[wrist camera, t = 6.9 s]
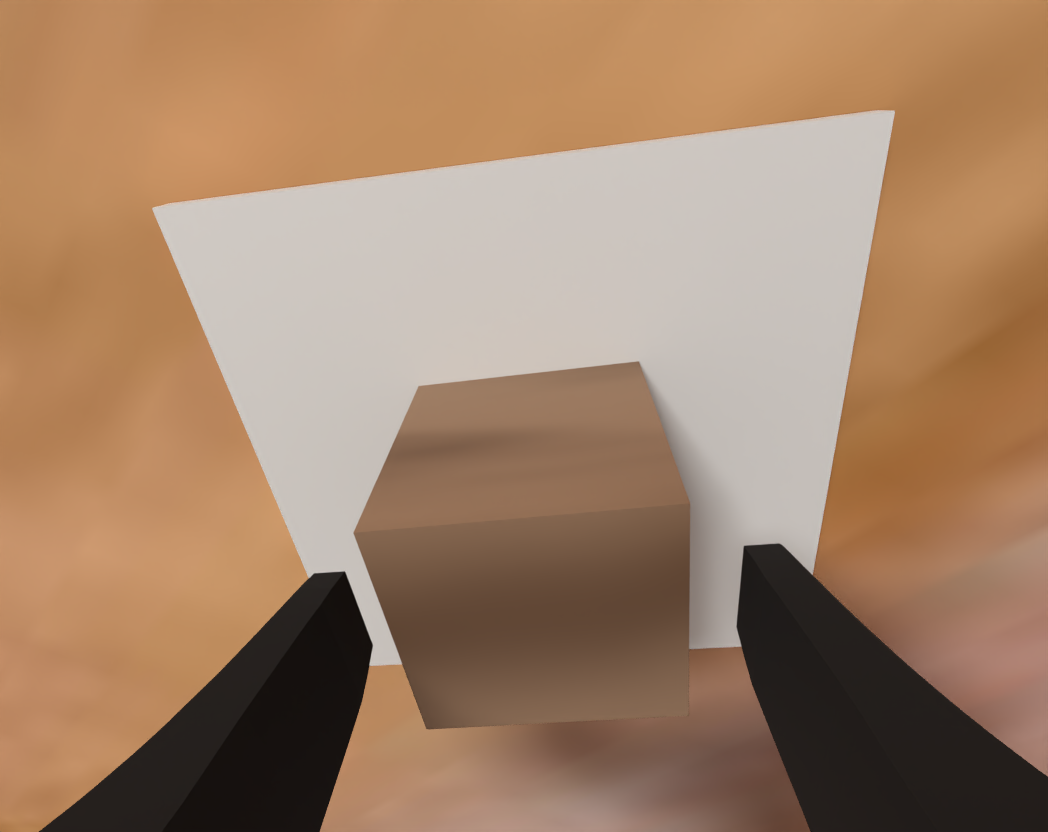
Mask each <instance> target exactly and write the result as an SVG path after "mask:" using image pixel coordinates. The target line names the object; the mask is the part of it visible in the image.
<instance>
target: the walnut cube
mask: <svg viewBox="0 0 1048 832" xmlns="http://www.w3.org/2000/svg"><path fill="white" fill-rule="evenodd" d="M353 534H354V536H355V539H356V542H357V544H358V547H359V550H360V552H361V555H362V558H363V560H364V563H365V566H366V568H367V571H368V574H369V576H370V579H371V582H372V584H373V587H374V590H375V592H376V595H377V598H378V600H379V603H380V606H381V608H382V611H383V614H384V616H385V619H386V622H387V624H388V627H389V630H390V633H391V635H392V638H393V641H394V643H395V646H396V649H397V651H398V654H399V657H400V659H401V662H402V665H403V667H404V670H405V673H406V675H407V678H408V681H409V683H410V686H411V689H412V691H413V694H414V697H415V699H416V702H417V705H418V707H419V710H420V713H421V715H422V718H423V721H424V724H425V726H426V729H443V728H463V727H482V726H502V725H521V724H540V723H560V722H579V721H598V720H618V719H637V718H656V717H676V716H689V602H690V501H689V498H688V496H687V493H686V490H685V487H684V485H683V482H682V479H681V476H680V474H679V471H678V468H677V465H676V463H675V460H674V457H673V454H672V452H671V449H670V446H669V443H668V441H667V438H666V435H665V432H664V429H663V427H662V424H661V421H660V418H659V416H658V413H657V410H656V407H655V405H654V402H653V399H652V396H651V394H650V391H649V388H648V385H647V383H646V380H645V377H644V374H643V372H642V369H641V366H640V363H639V361H637V362H628V363H619V364H610V365H601V366H592V367H583V368H575V369H566V370H557V371H548V372H539V373H530V374H521V375H512V376H503V377H495V378H486V379H477V380H468V381H459V382H450V383H441V384H432V385H423V386H418V388H417V391H416V393H415V395H414V397H413V400H412V402H411V404H410V406H409V409H408V411H407V413H406V415H405V418H404V420H403V422H402V424H401V427H400V429H399V431H398V433H397V436H396V438H395V440H394V442H393V445H392V447H391V449H390V451H389V454H388V456H387V458H386V460H385V463H384V465H383V467H382V469H381V472H380V474H379V476H378V478H377V481H376V483H375V485H374V487H373V490H372V492H371V494H370V496H369V499H368V501H367V503H366V505H365V508H364V510H363V512H362V514H361V517H360V519H359V521H358V523H357V526H356V528H355V530H354V532H353Z"/></svg>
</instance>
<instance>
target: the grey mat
mask: <svg viewBox="0 0 1048 832" xmlns="http://www.w3.org/2000/svg"><path fill="white" fill-rule="evenodd" d="M894 114H895V111H887V110H876V111H868V112H860V113H853V114H845V115H838V116H830V117H822V118H815V119H807V120H800V121H792V122H784V123H777V124H769V125H761V126H754V127H746V128H739V129H731V130H723V131H716V132H708V133H701V134H693V135H685V136H678V137H670V138H663V139H655V140H647V141H640V142H632V143H625V144H617V145H609V146H602V147H594V148H587V149H579V150H571V151H564V152H556V153H549V154H541V155H533V156H526V157H518V158H511V159H503V160H495V161H488V162H480V163H473V164H465V165H457V166H450V167H442V168H435V169H427V170H419V171H412V172H404V173H397V174H389V175H381V176H374V177H366V178H358V179H351V180H343V181H336V182H328V183H320V184H313V185H305V186H298V187H290V188H282V189H275V190H267V191H260V192H252V193H244V194H237V195H229V196H222V197H214V198H206V199H199V200H191V201H184V202H176V203H169V204H165V205H162V206H158V207H154V208H152V209H153V212H154V214H155V216H156V219H157V221H158V224H159V226H160V228H161V231H162V233H163V235H164V238H165V240H166V242H167V245H168V247H169V249H170V252H171V254H172V257H173V259H174V261H175V264H176V266H177V268H178V271H179V273H180V275H181V278H182V280H183V282H184V285H185V287H186V290H187V292H188V294H189V297H190V299H191V301H192V304H193V306H194V308H195V311H196V313H197V315H198V318H199V320H200V323H201V325H202V327H203V330H204V332H205V334H206V337H207V339H208V341H209V344H210V346H211V348H212V351H213V353H214V356H215V358H216V360H217V363H218V365H219V367H220V370H221V372H222V374H223V377H224V379H225V382H226V384H227V386H228V389H229V391H230V393H231V396H232V398H233V400H234V403H235V405H236V407H237V410H238V412H239V415H240V417H241V419H242V422H243V424H244V426H245V429H246V431H247V433H248V436H249V438H250V440H251V443H252V445H253V448H254V450H255V452H256V455H257V457H258V459H259V462H260V464H261V466H262V469H263V471H264V473H265V476H266V478H267V481H268V483H269V485H270V488H271V490H272V492H273V495H274V497H275V499H276V502H277V504H278V506H279V509H280V511H281V514H282V516H283V518H284V521H285V523H286V525H287V528H288V530H289V532H290V535H291V537H292V539H293V542H294V544H295V547H296V549H297V551H298V554H299V556H300V558H301V561H302V563H303V565H304V568H305V570H306V572H307V575H308V577H309V578H310V577H311V576H312V575H313V574H314V573H326V572H342V571H345V572H346V575H347V578H348V580H349V583H350V586H351V588H352V591H353V593H354V596H355V599H356V601H357V604H358V607H359V609H360V612H361V615H362V617H363V620H364V623H365V625H366V628H367V631H368V633H369V636H370V639H371V641H372V644H373V648H372V654H371V659H370V664H369V666H376V665H395V664H402V662H401V659H400V657H399V654H398V651H397V649H396V646H395V643H394V641H393V638H392V635H391V633H390V630H389V627H388V624H387V622H386V619H385V616H384V614H383V611H382V608H381V606H380V603H379V600H378V598H377V595H376V592H375V590H374V587H373V584H372V582H371V579H370V576H369V574H368V571H367V568H366V566H365V563H364V560H363V558H362V555H361V552H360V550H359V547H358V544H357V542H356V539H355V536H354V534H353V532H354V530H355V528H356V526H357V523H358V521H359V519H360V517H361V514H362V512H363V510H364V508H365V505H366V503H367V501H368V499H369V496H370V494H371V492H372V490H373V487H374V485H375V483H376V481H377V478H378V476H379V474H380V472H381V469H382V467H383V465H384V463H385V460H386V458H387V456H388V454H389V451H390V449H391V447H392V445H393V442H394V440H395V438H396V436H397V433H398V431H399V429H400V427H401V424H402V422H403V420H404V418H405V415H406V413H407V411H408V409H409V406H410V404H411V402H412V400H413V397H414V395H415V393H416V391H417V388H418V386H423V385H432V384H441V383H450V382H459V381H468V380H477V379H486V378H495V377H503V376H512V375H521V374H530V373H539V372H548V371H557V370H566V369H575V368H583V367H592V366H601V365H610V364H619V363H628V362H637V361H639V363H640V366H641V369H642V372H643V374H644V377H645V380H646V383H647V385H648V388H649V391H650V394H651V396H652V399H653V402H654V405H655V407H656V410H657V413H658V416H659V418H660V421H661V424H662V427H663V429H664V432H665V435H666V438H667V441H668V443H669V446H670V449H671V452H672V454H673V457H674V460H675V463H676V465H677V468H678V471H679V474H680V476H681V479H682V482H683V485H684V487H685V490H686V493H687V496H688V498H689V501H690V602H689V649H702V648H722V647H741V642H740V639H739V635H738V631H737V627H736V625H737V614H738V603H739V592H740V581H741V570H742V559H743V548H744V546H746V545H762V544H777V543H780V544H781V545H783V546H784V547H785V548H786V549H787V550H788V551H789V552H790V553H791V554H792V555H793V556H794V557H795V558H796V559H797V560H798V561H799V562H800V563H801V564H802V565H803V566H804V567H805V568H806V569H807V570H808V571H809V572H810V573H811V574H812V575H813V569H814V564H815V558H816V553H817V547H818V541H819V536H820V530H821V524H822V519H823V513H824V508H825V502H826V496H827V491H828V485H829V479H830V474H831V468H832V463H833V457H834V451H835V446H836V440H837V434H838V429H839V423H840V418H841V412H842V406H843V401H844V395H845V389H846V384H847V378H848V373H849V367H850V361H851V356H852V350H853V344H854V339H855V333H856V328H857V322H858V316H859V311H860V305H861V299H862V294H863V288H864V282H865V277H866V271H867V266H868V260H869V254H870V249H871V243H872V237H873V232H874V226H875V221H876V215H877V209H878V204H879V198H880V192H881V187H882V181H883V176H884V170H885V164H886V159H887V153H888V147H889V142H890V136H891V131H892V125H893V119H894Z"/></svg>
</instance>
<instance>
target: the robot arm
mask: <svg viewBox="0 0 1048 832" xmlns="http://www.w3.org/2000/svg"><path fill="white" fill-rule="evenodd" d="M736 627H737V631H738V635H739V639H740V642H741V646H742V650H743V654H744V657H745V661H746V664H747V668H748V671H749V675H750V678H751V682H752V685H753V688H754V690H755V693H756V695H757V698H758V701H759V703H760V706H761V708H762V711H763V713H764V716H765V718H766V721H767V723H768V726H769V728H770V731H771V734H772V736H773V739H774V741H775V743H776V746H777V748H778V751H779V753H780V756H781V758H782V761H783V763H784V766H785V768H786V771H787V773H788V776H789V778H790V781H791V783H792V786H793V788H794V791H795V793H796V796H797V798H798V801H799V803H800V806H801V808H802V811H803V813H804V816H805V818H806V821H807V823H808V826H809V828H810V831H811V832H1048V777H1047V776H1046V775H1045V774H1043V773H1042V772H1040V771H1039V770H1038V769H1036V768H1035V767H1034V766H1032V765H1031V764H1030V763H1028V762H1027V761H1026V760H1024V759H1023V758H1022V757H1020V756H1019V755H1018V754H1017V753H1015V752H1014V751H1013V750H1011V749H1010V748H1009V747H1007V746H1006V745H1005V744H1003V743H1002V742H1001V741H999V740H998V739H997V738H995V737H994V736H993V735H992V734H990V733H989V732H988V731H987V730H985V729H984V728H983V727H982V726H980V725H979V724H978V723H977V722H975V721H974V720H973V719H971V718H970V717H969V716H968V715H967V714H965V713H964V712H963V711H962V710H960V709H959V708H958V707H957V706H956V705H954V704H953V703H952V702H951V701H949V700H948V699H947V698H946V697H945V696H944V695H942V694H941V693H940V692H939V691H938V690H936V689H935V688H934V687H933V686H932V685H931V684H929V683H928V682H927V681H926V680H925V679H923V678H922V677H921V676H920V675H919V674H918V673H916V672H915V671H914V670H913V669H912V668H911V667H910V666H909V665H907V664H906V663H905V662H904V661H903V660H902V659H901V658H899V657H898V656H897V655H896V654H895V653H894V652H893V651H892V650H891V649H889V648H888V647H887V646H886V645H885V644H884V643H883V642H882V641H881V640H880V639H879V638H878V637H876V636H875V635H874V634H873V633H872V632H871V631H870V630H869V629H868V628H867V627H866V626H864V625H863V624H862V623H861V622H860V621H859V620H858V619H857V618H856V617H855V616H854V615H853V614H852V613H851V612H850V611H849V610H848V609H846V608H845V607H844V606H843V605H842V604H841V603H840V602H839V601H838V600H837V599H836V598H835V597H834V596H833V595H832V594H831V593H830V592H829V591H828V590H827V589H826V588H825V587H824V586H823V585H822V584H821V583H820V582H819V581H818V580H817V579H816V578H815V577H814V576H813V575H812V574H811V573H810V572H809V571H808V570H807V569H806V568H805V567H804V566H803V565H802V564H801V563H800V562H799V561H798V560H797V559H796V558H795V557H794V556H793V555H792V554H791V553H790V552H789V551H788V550H787V549H786V548H785V547H784V546H783V545H781V544H780V543H777V544H762V545H746V546H744V548H743V559H742V570H741V581H740V592H739V603H738V614H737V625H736ZM372 648H373V644H372V641H371V639H370V636H369V633H368V631H367V628H366V625H365V623H364V620H363V617H362V615H361V612H360V609H359V607H358V604H357V601H356V599H355V596H354V593H353V591H352V588H351V586H350V583H349V580H348V578H347V575H346V572H345V571H342V572H326V573H314V574H313V575H312V576H311V577H310V578H309V579H308V580H307V581H306V582H305V583H304V584H303V585H302V586H301V587H300V588H299V589H298V590H297V591H296V592H295V593H294V594H293V595H292V596H291V597H290V599H289V600H288V601H287V602H286V603H285V604H284V605H283V606H282V607H281V608H280V609H279V610H278V611H277V612H276V614H275V615H274V616H273V617H272V618H271V619H270V620H269V621H268V622H267V623H266V624H265V625H264V626H263V627H262V628H261V630H260V631H259V632H258V633H257V634H256V635H255V636H254V637H253V638H252V639H251V640H250V641H249V642H248V643H247V644H246V645H245V646H244V647H243V648H242V649H241V650H240V651H239V652H238V654H237V655H236V656H235V657H234V658H233V659H232V660H231V661H230V662H229V663H228V664H227V665H226V666H225V667H224V668H223V669H222V670H221V671H220V672H219V673H218V674H217V675H216V676H215V677H214V678H213V679H212V680H211V681H210V682H209V683H208V684H207V685H206V686H205V687H204V688H203V689H202V690H201V691H200V692H199V693H198V694H197V695H196V696H195V697H193V698H192V699H191V700H190V701H189V702H188V703H187V704H186V705H185V706H184V707H183V708H182V709H181V710H180V711H179V712H178V713H177V714H176V715H175V716H174V717H173V718H172V719H171V720H170V721H169V722H168V723H167V724H166V725H165V726H164V727H163V728H161V729H160V730H159V731H158V732H157V733H156V734H155V735H154V736H153V737H152V738H151V739H149V740H148V741H147V742H146V743H145V744H144V745H143V746H142V747H141V748H139V749H138V750H137V751H136V752H135V753H134V754H133V755H132V756H130V757H129V758H128V759H127V760H126V761H125V762H123V763H122V764H121V765H120V766H119V767H118V768H116V769H115V770H114V771H113V772H112V773H111V774H109V775H108V776H107V777H106V778H105V779H104V780H102V781H101V782H100V783H99V784H98V785H97V786H95V787H94V788H93V789H92V790H91V791H90V792H88V793H87V794H86V795H85V796H83V797H82V798H81V799H80V800H79V801H77V802H76V803H75V804H74V805H72V806H71V807H70V808H69V809H67V810H66V811H65V812H63V813H62V814H61V815H60V816H58V817H57V818H56V819H55V820H53V821H52V822H51V823H49V824H48V825H47V826H46V827H44V828H43V829H42V830H40V831H39V832H320V829H321V825H322V822H323V819H324V816H325V813H326V810H327V807H328V804H329V801H330V798H331V795H332V792H333V789H334V786H335V783H336V780H337V777H338V774H339V771H340V768H341V765H342V762H343V759H344V756H345V753H346V750H347V747H348V743H349V740H350V737H351V734H352V731H353V728H354V725H355V722H356V719H357V715H358V712H359V709H360V706H361V703H362V698H363V694H364V689H365V684H366V680H367V675H368V670H369V664H370V659H371V654H372Z"/></svg>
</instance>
